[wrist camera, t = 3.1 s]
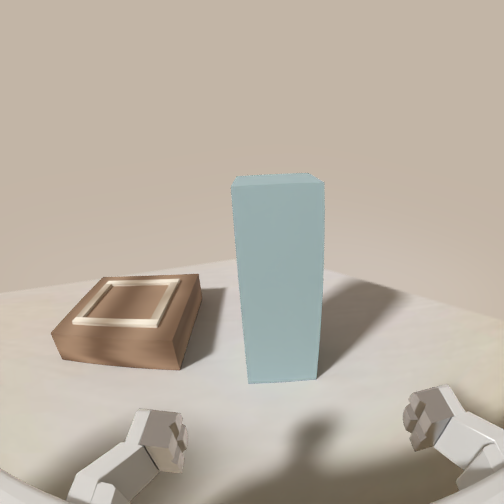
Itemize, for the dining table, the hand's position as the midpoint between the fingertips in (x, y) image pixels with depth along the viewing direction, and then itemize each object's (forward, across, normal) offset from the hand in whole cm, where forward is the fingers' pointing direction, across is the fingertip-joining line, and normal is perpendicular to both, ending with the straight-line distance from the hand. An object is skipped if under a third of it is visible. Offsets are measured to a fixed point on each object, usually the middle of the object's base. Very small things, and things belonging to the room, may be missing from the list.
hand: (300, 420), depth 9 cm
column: (+12, 0, +8) cm, 14 cm away
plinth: (+17, +14, +8) cm, 23 cm away
